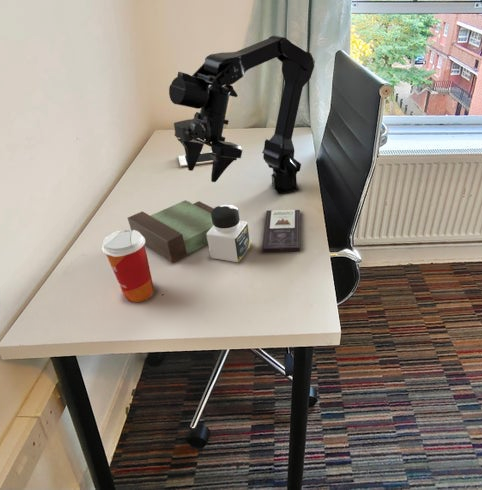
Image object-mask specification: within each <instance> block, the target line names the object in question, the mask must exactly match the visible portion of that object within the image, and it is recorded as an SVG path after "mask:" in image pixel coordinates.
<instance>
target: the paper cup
mask: <svg viewBox="0 0 482 490" xmlns="http://www.w3.org/2000/svg"><path fill="white" fill-rule="evenodd" d="M144 244H145V238H144V237H143V236H142V235H141V234H140V233H139V232H138V231H136V230H133V231H131V229H125V230H123V229H120V230H117V231H114V232H111V233H109V234H108V235H106V237H105V238H103V241H102V245H101V250H102V252H103V253H104V254H105V255H106V258H107V260H108V262H109V264H110V267H111V269H112V271H113V273H114V275H115V278H116V280H117V282H118V284H119V287H120V290H121V292H122V293H123V296H124V298H125V299H126V300H127V301H128V302H131V303H140V302H144V301H147V300H148V299H149V298H151V297H152V296H153V295H154V291H155V287H154V283H153V278H152V274H151V273H152V272H151V269H150V268H151V267H150V263H149V258H148V255H147V250H146V246H145V245H144Z"/></svg>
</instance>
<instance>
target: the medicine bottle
mask: <svg viewBox="0 0 482 490" xmlns="http://www.w3.org/2000/svg"><path fill="white" fill-rule="evenodd" d="M213 208H214V209H213V210H212V211H211V217H212V222H213V227H212V228H211V229H210V230H209V231H208V232H207V234H206V235H207V240H208V244H207V245H208V250H209V256H210V258H211V259H215V260H221V261H226V262H227V261H228V262H234V263H240V261H241V260H242V258H243V257H244V255H245V254H246V253H247V251H248V250H249V249H250V247H251V241H250V233H249V223H248V222H247V221H243V220H240V213H239V212H240V211H239V209H238V207H236V206H235V205H232V204H220V205H217V206H215V207H213Z"/></svg>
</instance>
